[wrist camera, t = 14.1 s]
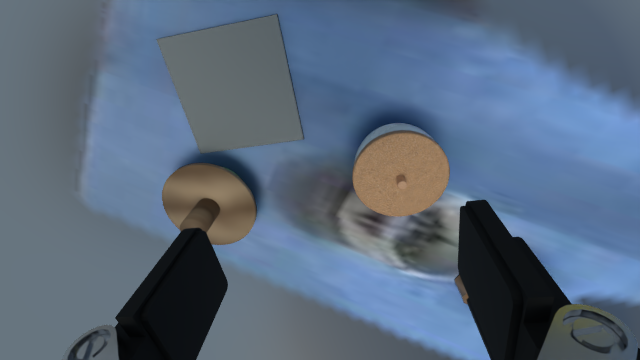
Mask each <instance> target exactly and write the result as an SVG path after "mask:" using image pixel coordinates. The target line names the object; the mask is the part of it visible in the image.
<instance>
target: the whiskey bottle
mask: <svg viewBox="0 0 640 360" xmlns="http://www.w3.org/2000/svg"><path fill="white" fill-rule="evenodd" d="M455 283H456V286H457V288H458V291H459V293H460V295H461V297H462V299H463V302H464V303H466V304H468V306H469V309H470V311H471V313H472V316H473V318H474V320H475V323H476V325H477V328H478V330H479V332H480V335H481V337H482V340H483V342H484V344H485V347H486V349H487V351H488V354H489V356H490V359H491V360H494V358H493V356H492V353H491V351H490V348H489V346H488V343H487V341H486V339H485V336H484V334H483V331H482V329H481V326H480V324H479V321H478V319H477V317H476V314H475V312H474V309H473V307H472V304H471V302H470V299H469V297H468V295H467V292H466V290H465V287H464V285H463V282H462V280H461V277H460V275H459V276H458V277H457V278H456V279H455Z"/></svg>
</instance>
